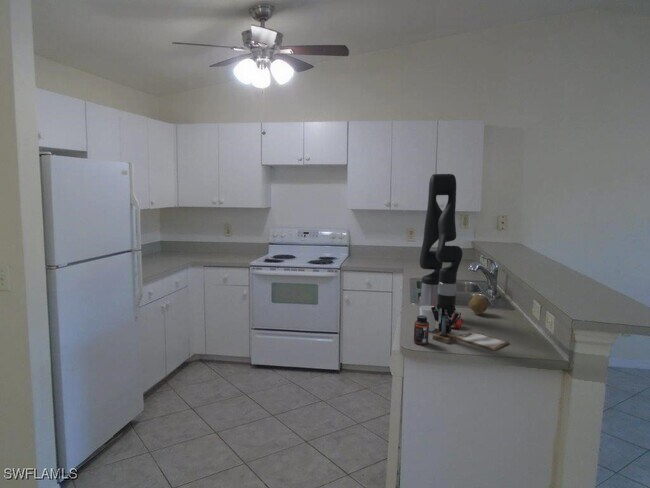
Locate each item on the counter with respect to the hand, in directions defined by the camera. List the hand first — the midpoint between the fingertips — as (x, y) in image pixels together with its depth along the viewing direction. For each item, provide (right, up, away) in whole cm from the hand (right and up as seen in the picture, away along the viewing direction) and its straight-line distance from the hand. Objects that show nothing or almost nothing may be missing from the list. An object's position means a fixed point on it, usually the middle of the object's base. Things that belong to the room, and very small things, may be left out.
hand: (444, 332), depth 187 cm
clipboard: (+15, -4, -1) cm, 16 cm away
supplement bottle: (-11, -4, -4) cm, 12 cm away
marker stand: (0, -3, 0) cm, 3 cm away
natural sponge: (+27, +1, +39) cm, 47 cm away
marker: (0, -2, 0) cm, 2 cm away
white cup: (-4, -2, +14) cm, 15 cm away
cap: (+9, -1, +17) cm, 20 cm away
